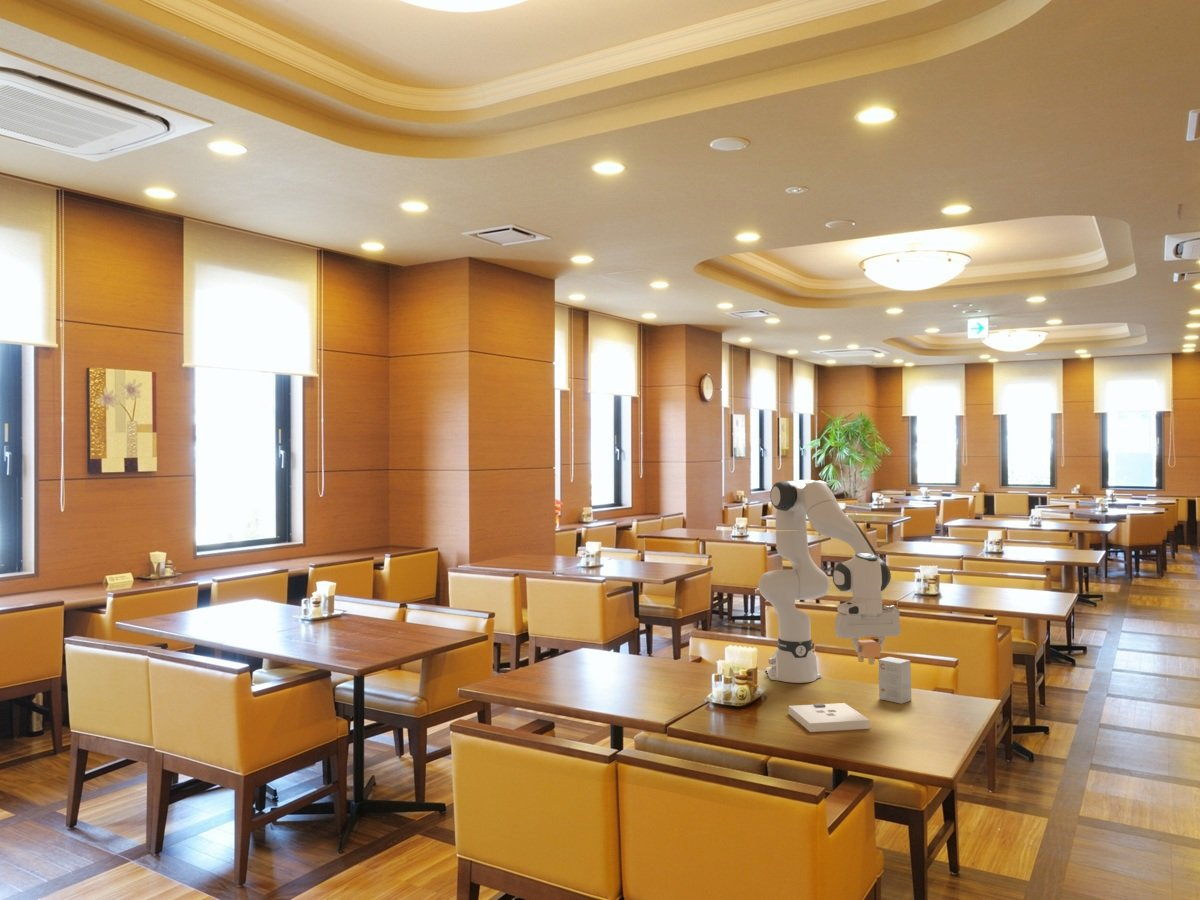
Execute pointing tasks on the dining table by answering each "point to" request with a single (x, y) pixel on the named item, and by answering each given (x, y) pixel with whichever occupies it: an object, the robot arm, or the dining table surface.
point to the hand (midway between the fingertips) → (868, 651)
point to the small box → (894, 680)
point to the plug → (868, 650)
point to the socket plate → (828, 717)
